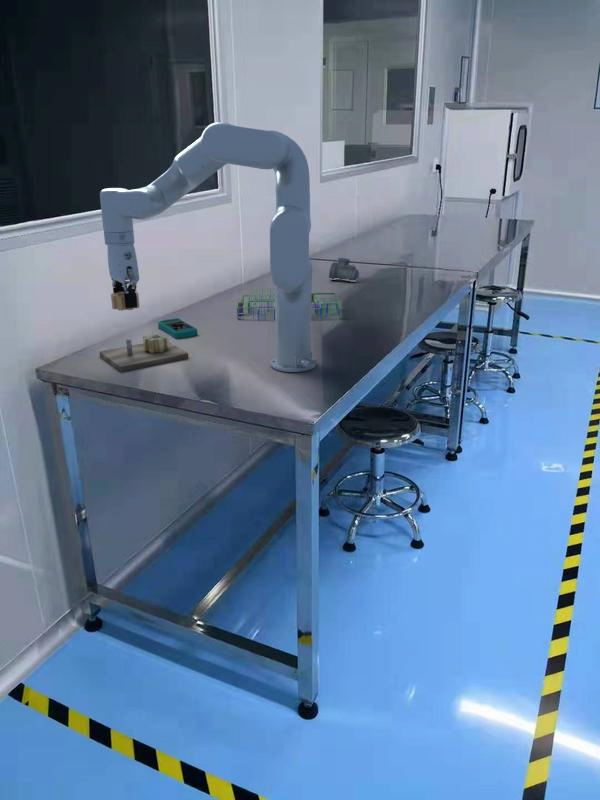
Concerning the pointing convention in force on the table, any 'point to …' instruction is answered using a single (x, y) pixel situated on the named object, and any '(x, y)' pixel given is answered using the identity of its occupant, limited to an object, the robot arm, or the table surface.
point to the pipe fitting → (343, 270)
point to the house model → (241, 309)
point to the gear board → (140, 356)
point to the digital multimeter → (177, 328)
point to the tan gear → (121, 301)
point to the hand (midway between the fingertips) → (125, 304)
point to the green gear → (156, 343)
